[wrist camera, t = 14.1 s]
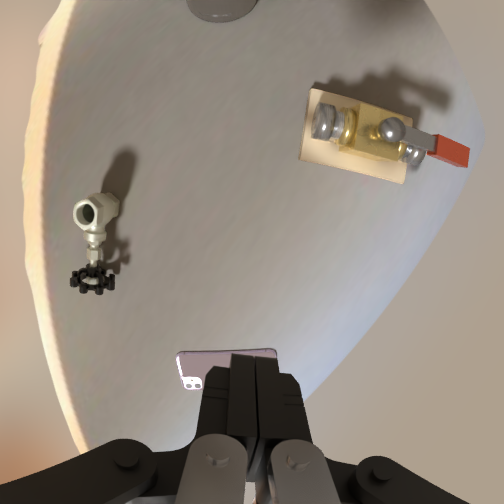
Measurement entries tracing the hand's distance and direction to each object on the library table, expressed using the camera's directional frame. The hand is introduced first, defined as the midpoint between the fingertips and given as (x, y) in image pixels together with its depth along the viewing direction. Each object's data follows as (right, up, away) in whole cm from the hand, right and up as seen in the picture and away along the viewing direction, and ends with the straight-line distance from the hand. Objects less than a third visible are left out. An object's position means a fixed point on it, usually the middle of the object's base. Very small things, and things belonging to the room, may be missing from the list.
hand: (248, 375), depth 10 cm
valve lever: (+18, +15, +17) cm, 29 cm away
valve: (-20, +7, +28) cm, 35 cm away
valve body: (+13, +18, +24) cm, 33 cm away
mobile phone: (-4, -14, +35) cm, 37 cm away
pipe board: (+13, +19, +25) cm, 34 cm away
